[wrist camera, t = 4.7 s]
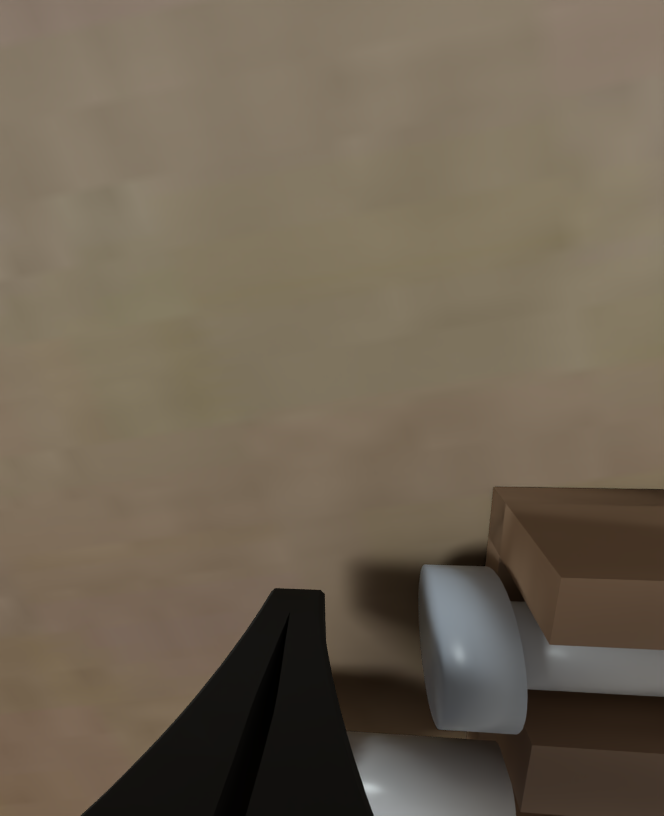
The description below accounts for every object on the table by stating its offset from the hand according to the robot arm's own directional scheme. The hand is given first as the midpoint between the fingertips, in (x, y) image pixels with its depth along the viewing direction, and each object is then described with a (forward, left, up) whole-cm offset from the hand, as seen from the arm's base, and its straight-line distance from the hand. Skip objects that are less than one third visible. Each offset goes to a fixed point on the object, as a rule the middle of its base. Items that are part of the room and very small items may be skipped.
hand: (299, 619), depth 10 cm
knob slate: (0, -7, -1) cm, 7 cm away
